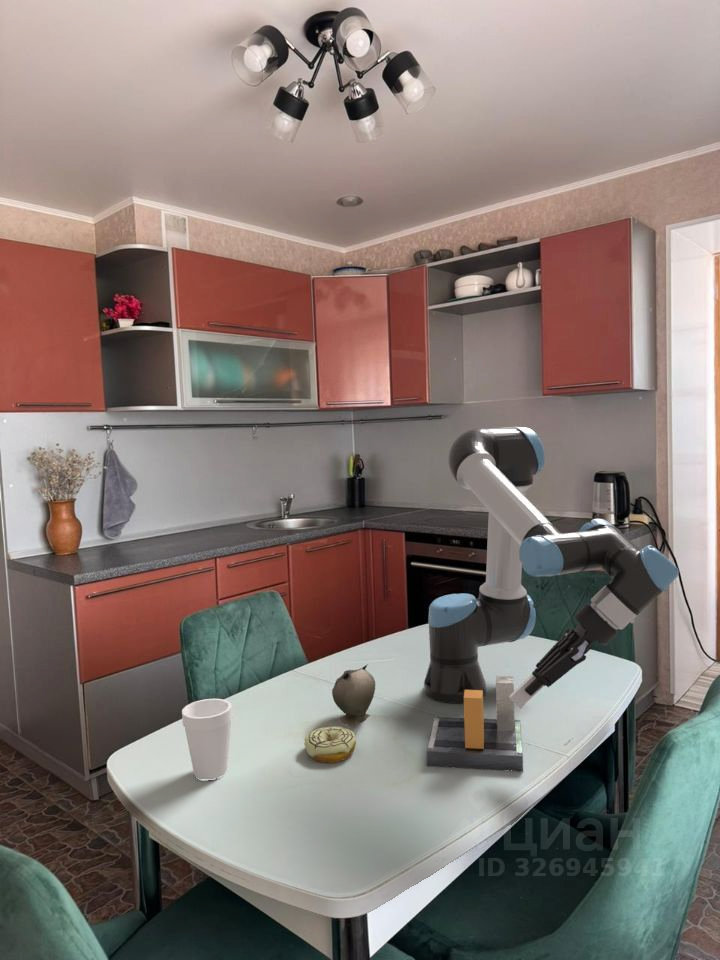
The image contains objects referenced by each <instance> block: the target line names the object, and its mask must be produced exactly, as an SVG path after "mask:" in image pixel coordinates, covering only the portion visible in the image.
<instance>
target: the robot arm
mask: <svg viewBox="0 0 720 960" xmlns="http://www.w3.org/2000/svg"><path fill="white" fill-rule="evenodd" d="M545 455H546V453H545V448H544V445H543V443H542V440H541V439H540V437H539V435H538V434H537V433H536V432H535V431H534V430H533V429H532V428H529V427H527V426H526V427H524V426H523V427H522V426H506V427H505V426H504V427H501V426H500V427H489V428H488V427H486V428H473V429H469V430H467V431H465V432H463V433H461V434H460V435H459V436H458V437H457V438H456V439H455V440H454V441H453V443H452V444H451V446H450V449H449V452H448V458H447V459H448V467H449V471H450V474H451V475H452V477H453V478H454V480H455V481H456V482H457V483H458V485H459V486H461V488H463V489H465V490H470V491H471V492H472V493H473V495H474V496H476V498H477V499H478V500H479V501H480V502H481V503H482V505H483V506H484V507H485V508H486V509H487V510H488V521H487V522H488V523H487V541H486V542H487V546H486V549H487V550H486V570H485V582H484V583H482V584H481V585H480V586H479V591H478V597H477V598H476V596H474V595H473V594H470V593H462V592H461V593H451V594H446V595H443V596H439V597H437V598H435V599H434V600H433V601H432V602H431V603H430V604H429V606H428V618H427V619H428V620H427V623H428V635H429V639H428V640H429V659H430V660H429V664H428V666H427V667H428V668H427V671H426V675H425V677H424V681H423V690H424V694H425V696H427V697H428V698H429V699H432V700H433V701H434V700H435V701H437V702H441V703H447V704H448V703H449V704H464V691H465V690H483V697H485V696H486V693H487V683H486V680H485V677H484V674H483V671H482V668H481V666H480V662H479V655H478V654H479V653H478V652H479V650H478V648H479V647H487V646H491V645H497V644H504V643H514V642H517V641H519V640H523V639H525V638H527V637H528V636H529V635H530V634H531V633H532V631H533V630H534V627H535V624H536V618H537V617H536V615H537V614H536V608H535V607H534V605H535V604H534V601H533V599H532V598H531V596H530V595H529V594H528V593H527V589H526V588H525V587H524V585H522V570H523V571H524V572H525V573H526V574H528V576H531V577H534V578H535V577H536V578H537V577H546V578H547V577H554V576H561V575H565V574H570V573H571V574H572V573H579V572H580V573H581V572H587V571H594V570H602V571H604V573H606V574H607V575H608V577H610V579H611V580H609V581H608V583H607V584H606V585H604V586H603V587H602V588H601V589H600V590H599V591H597V592H596V594H595V595H593V597H591V599H590V602H591V603H586V604H585V605H583V606H582V607H581V608H580V610H578V611H577V613H576V614H575V616H574V618H575V619H576V622H577V623H578V626H576V627H575V628H571V629H570V628H568V629H566V630H565V632H564V633H563V634H562V636H561V637H560V638H559V639H558V640H557V642H555V644H554V645H552V647H551V648H550V649H549V650H548V651H547V652H546V653H545V655H543V657H542V658H541V659H540V660H539V662H537V663H536V664H535V668H534V670H533V671H532V672H531V674H530V675H529V676H528V677H527V678H526V679H525V680H524V681H523V682H522V683H520V685H518V687H516V689H514V692H513V693H512V694H510V695H509V696H510V699H511V700H512V701H513V702H514V705H516V706H517V707H518V708H519V709H522V708H523V706H525V705H526V704H527V703H528V701H531V700H532V698H533V697H534V696H535V695H536V694H537V693H538V692H539V691H540V690H541V689H543V688H544V687H547V688H550V687H552V685H553V684H555V683H556V682H557V681H558V680H560V679H561V678H562V677H563V676H566V674H568V672H570V671H571V670H572V669H574V668H575V667H576V666H577V665H579V664H581V663H582V662H584V661H586V659H587V656H586V654H587V653H588V652H589V651H590V650H591V647H592V645H593V644H594V643H595V642H598V643H599V644H600V645H603V646H607V645H608V644H609V643H610V642H611V641H612V640H613V639H614V638H615V637H616V636H618V634H619V631H618V630H624V629H625V628H626V627H627V625H629V624H634V623H635V621H636V620H635V619H636V617H637V616H638V615H639V614H640V613H642V611H644V609H646V608H647V607H648V606H649V605H650V604H651V603H652V602H653V601H654V600H655V599H657V598H658V597H659V596H660V595H661V594H662V593H664V592H665V591H666V590H667V588H668V587H669V586H671V584H672V583H673V582H674V581H676V579H677V578H678V577H679V572H680V571H679V568H678V567H677V566H676V565H675V564H674V563H673V562H672V561H671V560H669V559H668V557H666V556H665V555H664V554H663V553H662V552H661V551H659V550H658V549H657V548H656V547H655V546H653V545H651V544H649V545H647V546H644V548H639V547H638V546H637V545H635V543H634V542H632V541H631V540H630V539H629V538H628V537H627V536H626V535H625V534H624V533H623V532H621V530H620V529H619V528H617V527H616V526H614V525H612V524H611V523H610V522H609V521H607V520H606V519H604V518H593V519H591V520H590V521H589V522H586V523H585V524H583V525H582V527H580V529H579V530H578V531H574V532H564V533H563V532H561V531H560V530H559V529H558V528H557V527H556V526H555V525H553V523H552V522H550V521H549V519H548V518H547V517H546V516H545V515H544V514H543V513H542V512H541V511H540V510H539V509H538V508H537V507H536V506H535V505H534V504H533V503H532V502H531V501H530V500H529V499H528V498H527V497H526V494H527V493H526V492H527V490H529V488H531V487H532V486H533V483H534V476H536V475H537V474H539V473H540V472H541V471H542V469H543V468H544V465H545V459H546V457H545Z"/></svg>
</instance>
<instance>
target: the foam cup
mask: <svg viewBox="0 0 720 960" xmlns="http://www.w3.org/2000/svg"><path fill="white" fill-rule="evenodd" d="M181 717H182V719H181V720H182V725H183V727H184V730H185V736H186V740H187V745H188V750H189V755H190V756H189V757H190V760H191V761H190V762H191V765H192V770H193V776H194V775H195V776H196V777H197V778H199V779H214V778H218V777H220V776H222V775H224V774H225V773H226V771H227V772H228V769H229V758H230V757H229V756H230V745H231V744H230V742H231V728H232V719H233V718H234V717H233V706H232V702H230V701H229V700H227V699H224V698H223V699H222V698H207V699H201V700H196V701H192V702H190V703H189V704H186V705H185V706H184V707H183V708H182V710H181ZM226 774H227V773H226ZM195 776H194V777H195Z"/></svg>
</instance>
